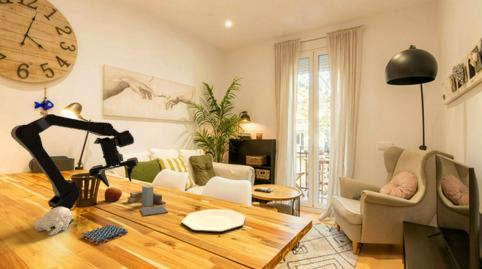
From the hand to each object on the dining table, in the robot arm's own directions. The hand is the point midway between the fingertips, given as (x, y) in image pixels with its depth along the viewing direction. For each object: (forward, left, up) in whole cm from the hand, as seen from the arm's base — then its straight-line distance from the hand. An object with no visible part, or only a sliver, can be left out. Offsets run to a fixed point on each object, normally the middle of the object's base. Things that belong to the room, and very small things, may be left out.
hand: (119, 184), depth 105 cm
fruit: (+19, +7, -12) cm, 23 cm away
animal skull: (-20, +17, -12) cm, 29 cm away
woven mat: (-28, -2, -12) cm, 31 cm away
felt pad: (-5, -15, -12) cm, 20 cm away
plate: (-23, -39, -12) cm, 47 cm away
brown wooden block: (+11, -15, -12) cm, 22 cm away
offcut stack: (+15, -5, -12) cm, 20 cm away
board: (+6, -11, -12) cm, 17 cm away
